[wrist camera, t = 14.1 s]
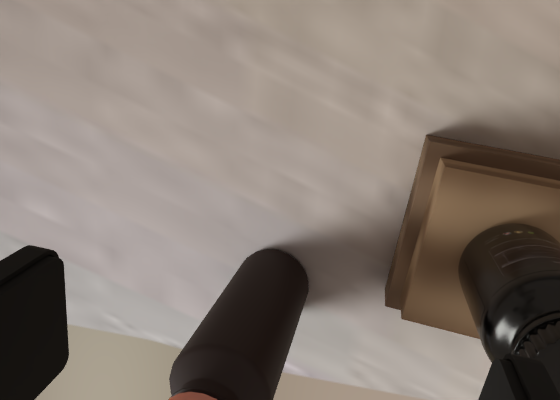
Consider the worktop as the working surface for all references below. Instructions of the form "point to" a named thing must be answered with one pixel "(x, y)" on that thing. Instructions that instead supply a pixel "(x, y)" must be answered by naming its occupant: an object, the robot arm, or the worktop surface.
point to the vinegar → (244, 333)
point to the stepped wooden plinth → (463, 222)
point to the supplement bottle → (515, 293)
